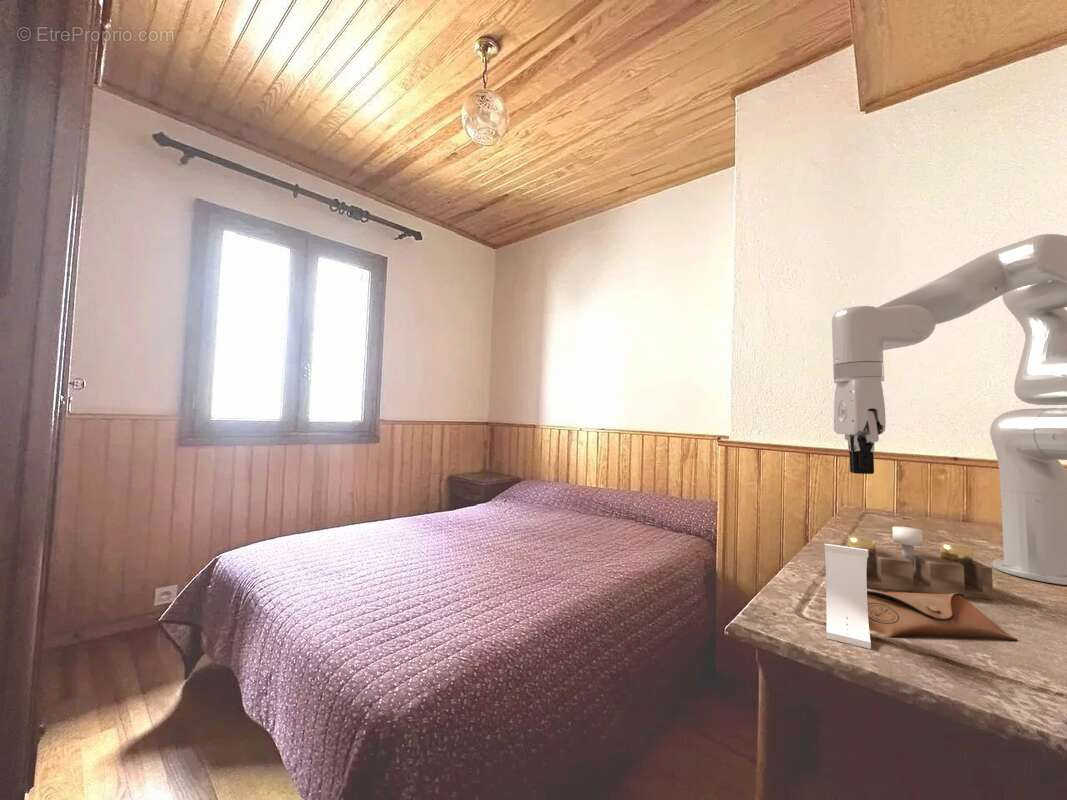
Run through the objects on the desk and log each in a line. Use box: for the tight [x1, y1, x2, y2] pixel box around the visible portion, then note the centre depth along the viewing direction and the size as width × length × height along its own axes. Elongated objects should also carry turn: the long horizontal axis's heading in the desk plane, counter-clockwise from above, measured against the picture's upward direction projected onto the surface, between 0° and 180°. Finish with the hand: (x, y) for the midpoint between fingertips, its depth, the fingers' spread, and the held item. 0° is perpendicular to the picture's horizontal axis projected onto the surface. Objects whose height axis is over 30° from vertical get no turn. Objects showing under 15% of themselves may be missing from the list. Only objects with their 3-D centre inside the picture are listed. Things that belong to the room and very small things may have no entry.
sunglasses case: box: [867, 590, 1018, 641], centre depth 61 cm, size 18×7×7 cm
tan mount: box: [837, 544, 994, 600], centre depth 76 cm, size 19×8×5 cm, turn 74°
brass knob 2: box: [939, 541, 974, 565], centre depth 75 cm, size 4×4×6 cm
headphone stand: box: [824, 543, 872, 650], centre depth 58 cm, size 5×6×12 cm
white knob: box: [892, 526, 924, 567], centre depth 77 cm, size 4×4×6 cm
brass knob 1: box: [847, 534, 877, 575], centre depth 78 cm, size 4×4×6 cm
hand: (861, 473), depth 80 cm, fingers closed
